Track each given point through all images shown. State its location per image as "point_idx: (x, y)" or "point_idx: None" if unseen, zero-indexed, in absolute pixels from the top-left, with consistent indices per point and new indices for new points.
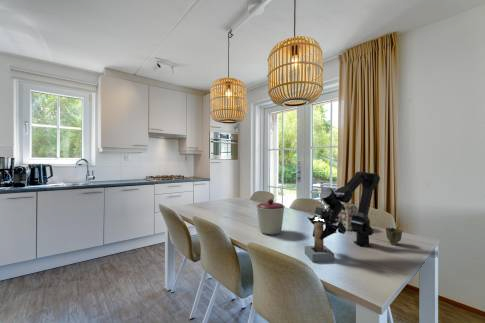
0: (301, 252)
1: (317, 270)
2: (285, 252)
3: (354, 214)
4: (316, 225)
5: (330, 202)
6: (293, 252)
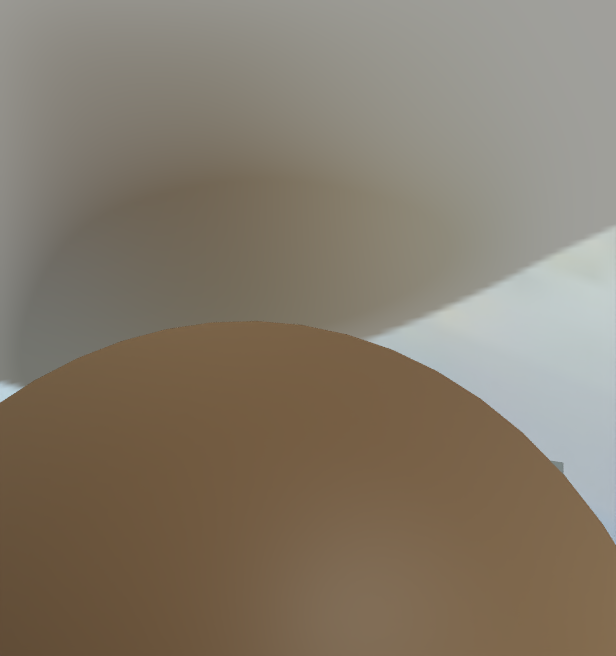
0: (569, 460)
1: (16, 388)
2: (584, 252)
3: None
4: (112, 390)
5: None
6: (577, 347)
